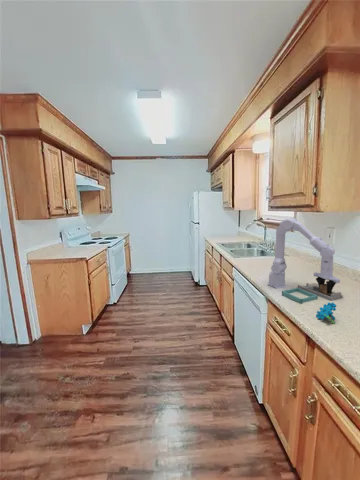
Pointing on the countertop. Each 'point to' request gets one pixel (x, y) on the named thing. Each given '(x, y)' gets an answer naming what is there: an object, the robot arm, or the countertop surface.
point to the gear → (327, 312)
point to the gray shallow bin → (328, 297)
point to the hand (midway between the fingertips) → (325, 291)
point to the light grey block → (314, 287)
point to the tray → (294, 298)
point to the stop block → (324, 289)
